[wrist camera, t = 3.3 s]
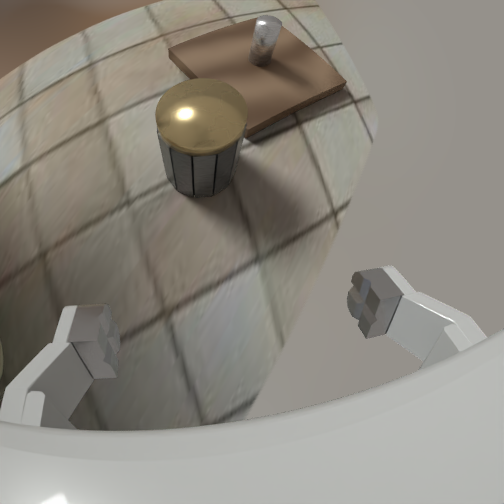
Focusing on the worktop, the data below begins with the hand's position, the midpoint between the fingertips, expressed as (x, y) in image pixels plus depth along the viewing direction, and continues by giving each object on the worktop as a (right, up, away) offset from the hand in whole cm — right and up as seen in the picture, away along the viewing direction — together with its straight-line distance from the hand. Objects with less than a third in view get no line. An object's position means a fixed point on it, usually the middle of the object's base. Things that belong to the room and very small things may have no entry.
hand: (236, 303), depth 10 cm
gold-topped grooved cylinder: (-4, +9, +16) cm, 19 cm away
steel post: (+1, +22, +18) cm, 28 cm away
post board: (+1, +22, +20) cm, 29 cm away
